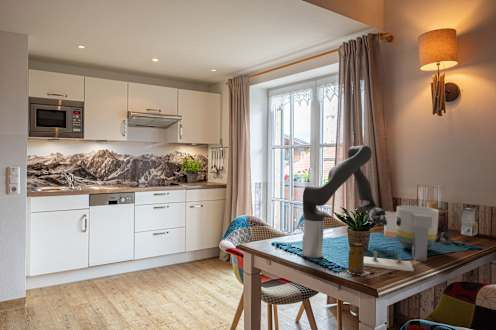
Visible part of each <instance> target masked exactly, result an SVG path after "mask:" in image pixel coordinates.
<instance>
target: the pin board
mask: <svg viewBox="0 0 496 330" xmlns="http://www.w3.org/2000/svg"><path fill="white" fill-rule="evenodd" d="M363 267H374V268H380V269H389V270H397V271H398V270H400V271H405V272H407V271H408V272H414V270H415V269H414V267H413V265H412V264H411V261H409V260H408V261H407V260H402V254H401V253H398V254H397V259H390V258H383V257H382V258H381V257H378V251H374V252H373V257H371V256H365V255H364V265H363Z"/></svg>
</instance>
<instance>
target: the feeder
mask: <svg viewBox="0 0 496 330" xmlns="http://www.w3.org/2000/svg"><path fill="white" fill-rule="evenodd" d="M411 223H412V224H413V225H414V229H413V242H412V250H411V256H412V258H413V259H414V261H421V262H426V261H427V257H428V249H427V243H428V228H431V224H432V217H431V216H430V215H429V214H425V213H412V218H411Z"/></svg>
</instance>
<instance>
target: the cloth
mask: <svg viewBox="0 0 496 330" xmlns="http://www.w3.org/2000/svg"><path fill="white" fill-rule="evenodd" d="M434 243H435V244H437V245H440V246H442V245H444V246H449V247H454V246H455V248H456V247H457V246H462V245H463V242H461V241H459V240H454V239H451V237H450V236H449V235H448V234H447V232H444V231H443V232H441V233H440V234H439V235H438V236H436V240H435V242H434Z"/></svg>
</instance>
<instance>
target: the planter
mask: <svg viewBox="0 0 496 330" xmlns="http://www.w3.org/2000/svg"><path fill="white" fill-rule="evenodd" d="M439 212H440V211H439V209H435V208H432V207H427V206H420V205H419V206H418V205H398V206H396V213H397V217H399V218H401V225H400V226H398V225H397V227H396V238H397V240H398V242H399V243H400V245H402V246H403V247H404V248H406V249H408V250H411V251H412V242H413V229H414V225H413V224H412V223H411V218H412V213H425V214H429V215H430V216H431V217H432V224H431V228H428V243H427V250H428V249H430V248H432V247H433V246H434V244H435V243H436V242H435V240H436V238H437V237H438V236H437V235H438V228H439V227H438V226H439Z"/></svg>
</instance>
